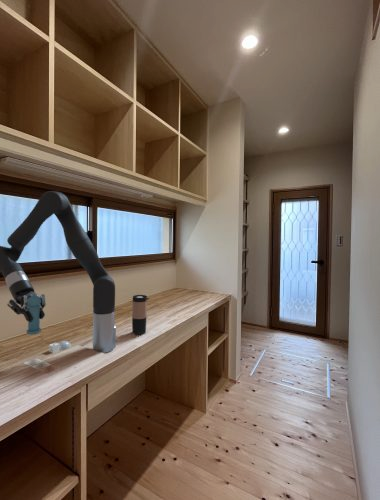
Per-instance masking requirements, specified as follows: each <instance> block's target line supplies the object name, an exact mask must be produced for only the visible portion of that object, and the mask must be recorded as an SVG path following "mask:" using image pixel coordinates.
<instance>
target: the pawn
mask: <svg viewBox="0 0 380 500" xmlns="http://www.w3.org/2000/svg"><path fill="white" fill-rule="evenodd" d="M40 302H41V299H40V297H38V296H36V295H33V296H30V297H29V298H28V300H27V304H28V311H29V312H30V313H31V315H32V317H33V320H32V321H31V322H28V321H27V330H26V335H31V336H32V335H38V334H40V333H42V328H41V327H40V324H41V323H40V320H41V319H40V305H39V304H40Z"/></svg>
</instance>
